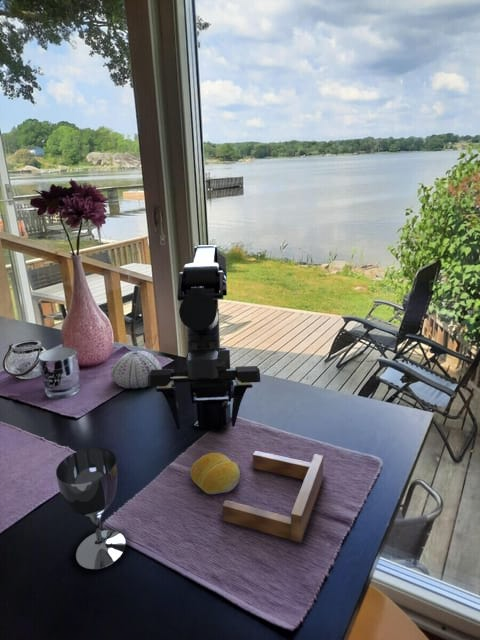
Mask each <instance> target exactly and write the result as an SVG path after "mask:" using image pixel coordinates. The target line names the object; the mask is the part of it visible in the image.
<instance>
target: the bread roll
mask: <svg viewBox="0 0 480 640" xmlns="http://www.w3.org/2000/svg"><path fill="white" fill-rule="evenodd" d="M190 478H191V479H192V481H193V483H194V484H196V486H197V487H199V488H200V489H201V490H202V491H203V492H204V493H206V494H208V495H217V494H225V493H229V492H231V491H232V490H234V489H235V488H236V487H237V485H238V483H239V482H240V479H241V470H240V467H239V465H238V464H237V463H236V462H234V461H232V460H230V459H229V458H228V456H226V455H225V454H222V453H220V452H209V453H206V454H204V455H202V456H200V457H199V458H198V459H197V460H196V461H194V463H193V464H192V466H191V469H190Z"/></svg>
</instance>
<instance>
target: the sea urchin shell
mask: <svg viewBox="0 0 480 640" xmlns="http://www.w3.org/2000/svg"><path fill="white" fill-rule="evenodd" d="M162 367H163V366H162V364H161V363H160V361H159V360H158V359H157V357H155V355H153V354H152V353H150V352H148V351H147V350H146V351H145V350H137V351H129V352H127V353H125V354H124V355H122V356H121V357H120V358H119V359H118V360H116V363H114V366H112V370H111V373H110V376H111V378H112V381H114V383H115V384H116V385H118V386H119V387H122V388H124V389H128V390H129V389H132V390H133V389H141V388H142V389H144V388H146V387H148V373H149V372H150V371H151V370H162V369H163V368H162Z"/></svg>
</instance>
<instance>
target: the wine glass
mask: <svg viewBox="0 0 480 640" xmlns="http://www.w3.org/2000/svg"><path fill="white" fill-rule="evenodd" d="M55 475H56V481H57V482H56V483H57V485H58V490H59V492H60V495H61V497H62V499H63V501H64V503H65V505H66V507H67V508H68V509H69V510H70V511H71V512H72V513H74V514H76V515H78V516H80V517H84V518H87V519H89V521H90V522H91V524H92V527H93V529H94V533H92V534H90V535H89V536H87V537H86V538H84V540H82V542H81V543H80V544H79V545H78V547H77V549H76V553H75V560H76V562H77V564H78V565H79V566H80V567H82V568H84V569H86V570H100V569H104V568H107V567H109V566H111V565H112V564H114V563H116V561H118V560H119V559H120V558H121V556H122V555H123V554H124V552H125V549H126V545H127V543H126V542H127V541H126V538H125V537H124V535H123V534H122V533H120V532H119V531H117V530H113V529H112V530H111V529H105V530H102V524H101V523H102V516H103V514H104V512H105V511H106V510H107V509H108V508H109V507H110V506H111V505H112V503H113V501H114V500H115V499H116V495H117V491H118V483H119V470H118V462H117V456H116V455H115V453H114V452H113V451H111V450H109V449H108V448H103V447H89V448H85V449H84V448H83V449H79V450H77V451H75V452H73V453H71V454H69V455H68V456H66V457H65V458H64V459H62V461H60V462H59V464H58V465H57V467H56V470H55Z"/></svg>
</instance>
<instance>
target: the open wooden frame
mask: <svg viewBox="0 0 480 640" xmlns="http://www.w3.org/2000/svg"><path fill="white" fill-rule="evenodd" d="M252 468H253V469H256V470H260V471H264V472H268V473H273V474H277V475H281V476H286V477H290V478H294V479H298V480H303V482H302V485H301V487H300V489H299V492H298V495H297V497H296V500H295V502H294V505H293V507H292V510H291V513H290V516H289V515H284V514H280V513H276V512H272V511H269V510H265V509H261V508H258V507H254V506H251V505H246V504H243V503H240V502H235V501H231V500H228V499H225V500H224V502H223V504H222V505H221V509H222V510H221V512H222V521H224V522H227V523H230V524H234V525H237V526H240V527H245V528H248V529H251V530H255V531H257V532H258V531H259V532H262V533H265V534H269V535H271V536H276V537H279V538H283V539H287V540H289V541H293V542H297V543H302V541H303V538H304V535H305V533H306V529H307V527H308V524H309V521H310V517H311V515H312V512H313V509H314V506H315V503H316V500H317V497H318V494H319V491H320V488H321V486H322V482H323V480H324V455H322V454H318V453H314V454H313V457H312V459H311V462H310V461H305V460H301V459H297V458H291V457H286V456H282V455H277V454H274V453H269V452H265V451H259V450H254V452H253V454H252Z"/></svg>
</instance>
